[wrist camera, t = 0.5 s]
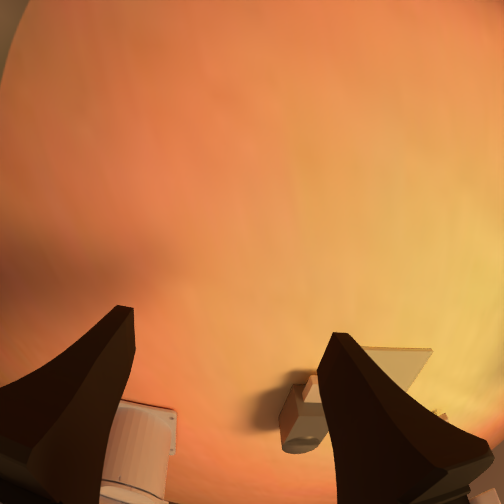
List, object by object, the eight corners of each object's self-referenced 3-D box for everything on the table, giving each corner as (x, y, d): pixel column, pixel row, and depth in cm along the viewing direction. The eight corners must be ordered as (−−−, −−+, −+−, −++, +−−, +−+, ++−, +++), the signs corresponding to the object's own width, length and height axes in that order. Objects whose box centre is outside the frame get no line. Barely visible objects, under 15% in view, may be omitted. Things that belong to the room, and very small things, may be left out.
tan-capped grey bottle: (307, 426, 30) (312, 453, 27) (274, 425, 29) (277, 453, 26) (339, 368, 26) (349, 398, 23) (301, 365, 25) (307, 398, 22)
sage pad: (382, 419, 30) (383, 422, 30) (316, 422, 30) (317, 425, 29) (431, 348, 26) (433, 351, 25) (358, 346, 25) (360, 349, 24)
